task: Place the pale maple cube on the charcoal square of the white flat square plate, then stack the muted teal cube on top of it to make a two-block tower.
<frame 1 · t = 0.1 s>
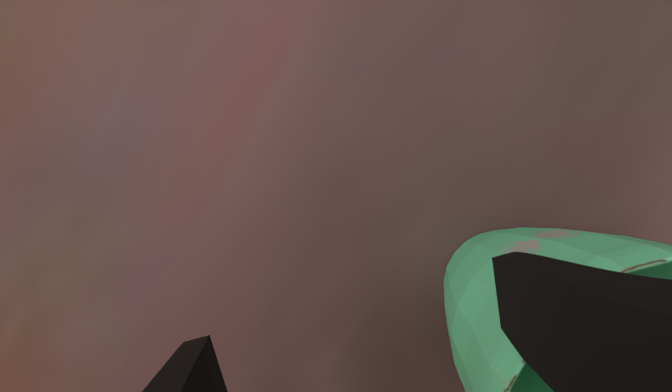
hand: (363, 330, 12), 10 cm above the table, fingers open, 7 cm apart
mug: (533, 271, 25), on the table
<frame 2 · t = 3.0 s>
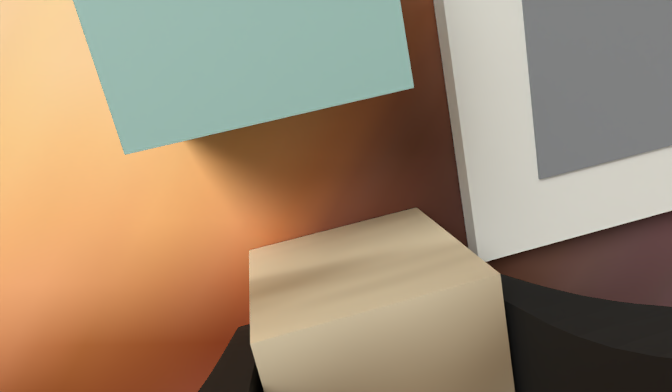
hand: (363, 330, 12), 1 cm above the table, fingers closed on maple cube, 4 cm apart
maple cube: (351, 304, 13), on the table, touching gripper
white flat square plate: (607, 56, 13), on the table
teal cube: (239, 4, 11), on the table
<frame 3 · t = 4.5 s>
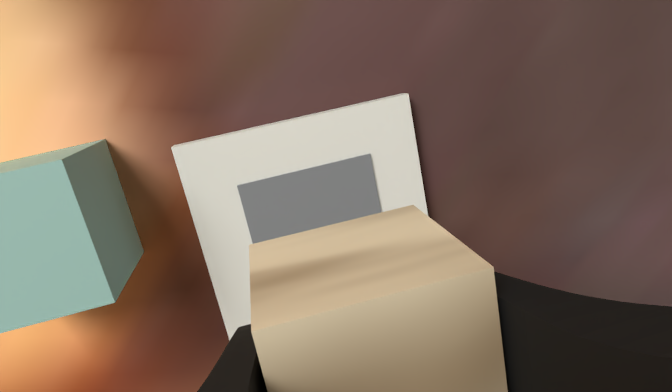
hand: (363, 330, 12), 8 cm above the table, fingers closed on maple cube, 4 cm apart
maple cube: (348, 299, 14), point 7 cm above the table, touching gripper
white flat square plate: (316, 227, 20), on the table
teal cube: (64, 211, 18), on the table
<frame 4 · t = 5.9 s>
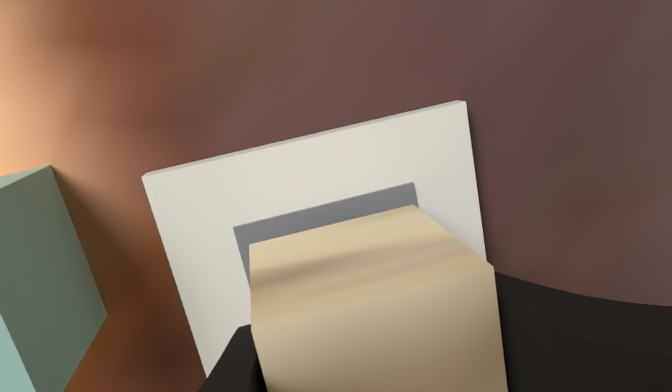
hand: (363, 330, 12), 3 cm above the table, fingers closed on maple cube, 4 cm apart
maple cube: (348, 299, 14), point 1 cm above the table, touching gripper
white flat square plate: (339, 278, 15), on the table
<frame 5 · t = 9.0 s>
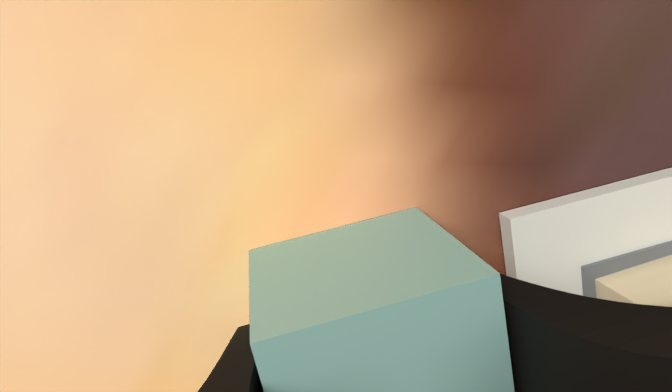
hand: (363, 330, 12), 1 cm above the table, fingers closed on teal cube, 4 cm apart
maple cube: (670, 324, 15), point 1 cm above the table, touching white flat square plate
white flat square plate: (650, 313, 15), on the table
teal cube: (351, 304, 13), on the table, touching gripper
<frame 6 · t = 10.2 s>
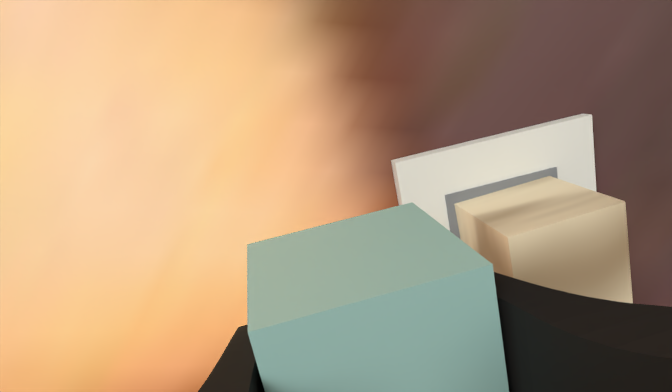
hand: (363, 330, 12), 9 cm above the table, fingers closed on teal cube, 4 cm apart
maple cube: (509, 236, 22), point 1 cm above the table, touching white flat square plate
white flat square plate: (500, 231, 23), on the table
teal cube: (348, 298, 14), point 8 cm above the table, touching gripper
when the fingers open (8 cm above the table, at t = 11.5 s): teal cube stays where it is, resting on maple cube.
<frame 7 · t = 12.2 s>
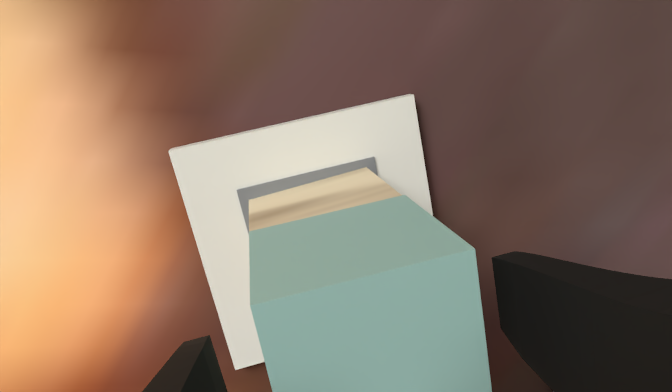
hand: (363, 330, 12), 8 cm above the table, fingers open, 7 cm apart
maple cube: (323, 238, 19), point 1 cm above the table, touching white flat square plate, teal cube
white flat square plate: (318, 232, 19), on the table
teal cube: (343, 284, 14), point 5 cm above the table, touching maple cube
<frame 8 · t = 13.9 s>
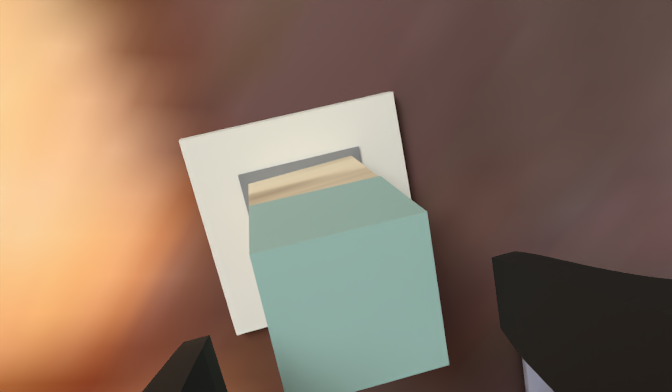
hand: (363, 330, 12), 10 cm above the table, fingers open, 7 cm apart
maple cube: (313, 218, 21), point 1 cm above the table, touching white flat square plate, teal cube
white flat square plate: (310, 213, 22), on the table
teal cube: (328, 252, 17), point 5 cm above the table, touching maple cube
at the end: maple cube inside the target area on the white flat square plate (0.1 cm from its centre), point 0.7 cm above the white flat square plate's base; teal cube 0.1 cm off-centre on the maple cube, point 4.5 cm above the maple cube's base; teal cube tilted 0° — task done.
